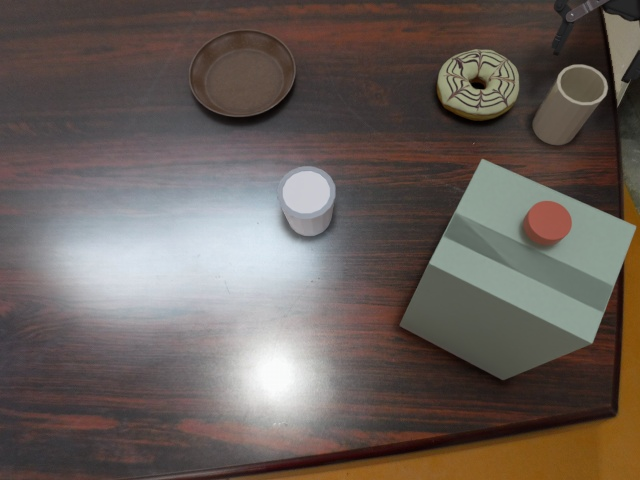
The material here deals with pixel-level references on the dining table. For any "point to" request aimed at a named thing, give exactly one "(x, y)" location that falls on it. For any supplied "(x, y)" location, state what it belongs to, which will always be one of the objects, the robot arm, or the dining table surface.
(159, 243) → the dining table surface
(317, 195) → the white short cylinder
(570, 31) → the robot arm
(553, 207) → the brew button
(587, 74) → the cream cup
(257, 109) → the saucer
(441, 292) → the box with red button
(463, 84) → the decorated donut
